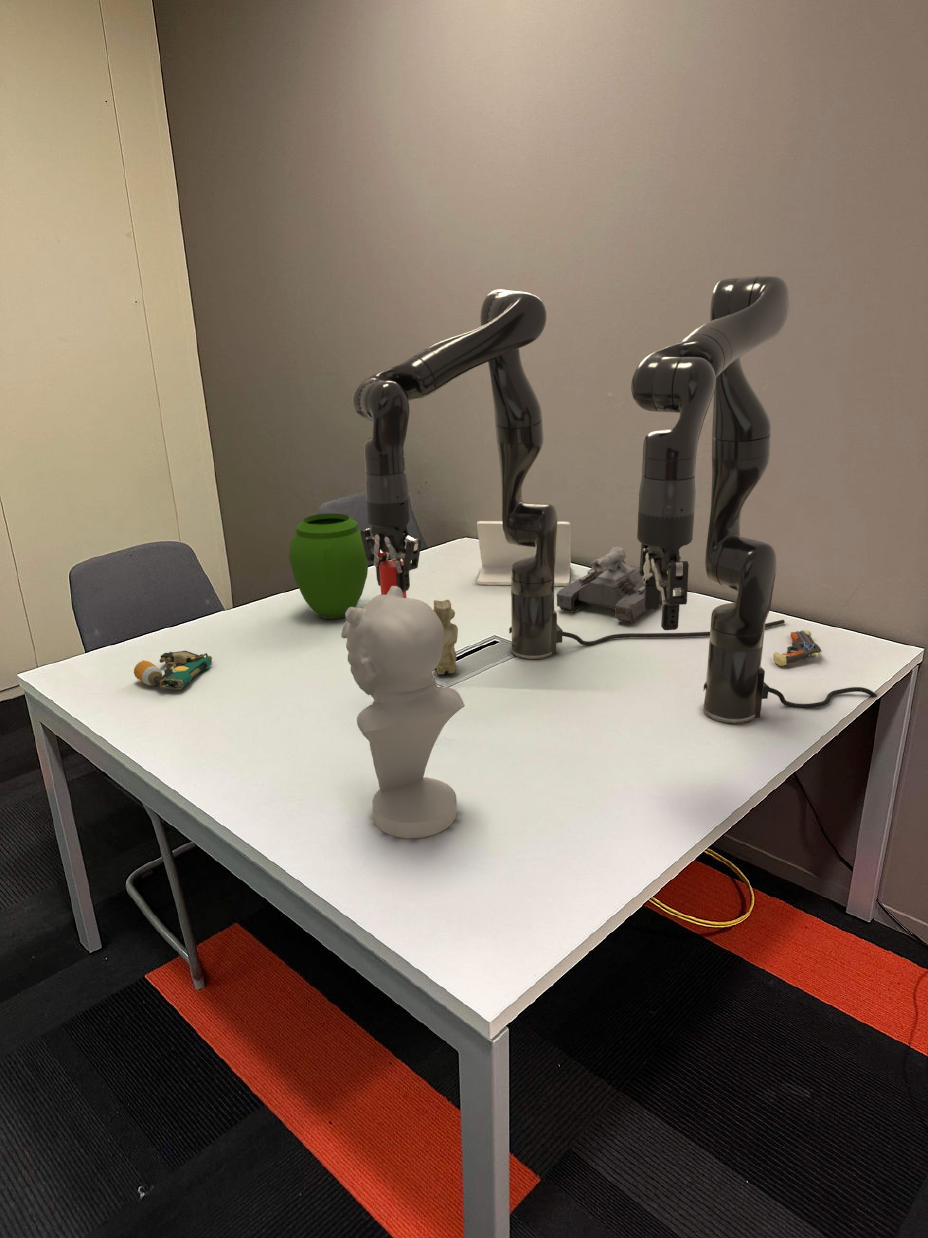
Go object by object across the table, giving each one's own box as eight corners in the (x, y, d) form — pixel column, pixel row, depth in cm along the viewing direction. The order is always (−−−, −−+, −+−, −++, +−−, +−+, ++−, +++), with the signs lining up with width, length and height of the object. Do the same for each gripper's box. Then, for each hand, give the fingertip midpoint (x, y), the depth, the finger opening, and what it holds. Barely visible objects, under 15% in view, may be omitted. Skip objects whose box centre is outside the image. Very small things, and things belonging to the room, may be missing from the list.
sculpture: (458, 662, 183) (456, 596, 178) (460, 676, 176) (457, 608, 171) (431, 663, 183) (428, 597, 177) (431, 677, 176) (428, 609, 171)
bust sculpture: (415, 752, 147) (404, 557, 135) (484, 821, 127) (478, 600, 115) (327, 777, 140) (307, 574, 128) (385, 855, 120) (368, 623, 108)
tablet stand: (569, 585, 229) (570, 524, 223) (476, 584, 232) (475, 523, 226) (570, 566, 246) (571, 508, 240) (484, 564, 249) (483, 507, 243)
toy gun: (776, 657, 175) (828, 653, 173) (763, 629, 193) (810, 626, 191) (777, 669, 176) (828, 666, 174) (763, 640, 194) (810, 637, 191)
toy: (603, 584, 229) (605, 530, 224) (673, 597, 218) (677, 540, 213) (555, 612, 210) (556, 553, 205) (630, 627, 199) (633, 566, 194)
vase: (389, 608, 216) (383, 514, 208) (339, 633, 201) (330, 533, 192) (330, 596, 226) (322, 506, 218) (278, 619, 211) (267, 523, 202)
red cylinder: (381, 625, 157) (376, 567, 153) (385, 616, 161) (381, 559, 157) (406, 625, 156) (402, 567, 152) (409, 616, 161) (406, 559, 157)
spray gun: (177, 659, 191) (231, 671, 185) (120, 684, 176) (176, 698, 171) (176, 641, 190) (230, 653, 184) (118, 665, 175) (174, 678, 169)
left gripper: (344, 495, 152) (352, 585, 158) (399, 506, 143) (405, 602, 149) (375, 487, 157) (382, 575, 164) (431, 497, 148) (435, 590, 154)
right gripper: (711, 519, 111) (702, 635, 116) (676, 495, 124) (669, 600, 130) (655, 522, 110) (648, 638, 116) (625, 498, 123) (621, 603, 129)
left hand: (393, 587), depth 156 cm, fingers closed on red cylinder, 4 cm apart
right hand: (660, 618), depth 123 cm, fingers open, 8 cm apart
